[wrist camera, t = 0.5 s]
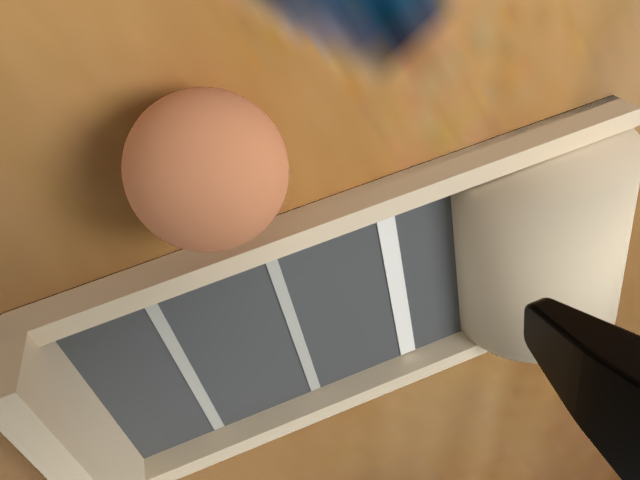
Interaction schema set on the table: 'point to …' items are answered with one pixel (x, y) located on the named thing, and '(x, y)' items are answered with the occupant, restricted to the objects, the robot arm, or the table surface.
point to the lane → (323, 304)
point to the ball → (205, 169)
